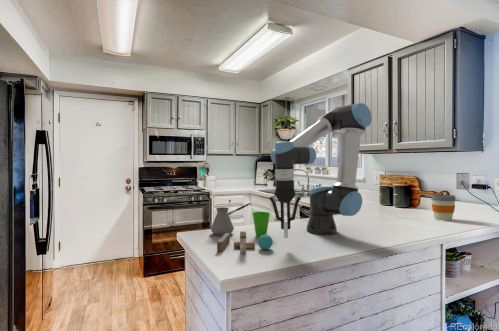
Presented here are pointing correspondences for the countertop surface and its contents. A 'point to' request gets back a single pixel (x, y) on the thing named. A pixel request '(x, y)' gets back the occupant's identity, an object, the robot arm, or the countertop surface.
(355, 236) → the countertop surface
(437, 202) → the reusable coffee cup
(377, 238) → the countertop surface
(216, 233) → the coffee pot
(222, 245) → the bar
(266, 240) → the ball
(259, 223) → the cup
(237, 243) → the front pin
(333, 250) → the countertop surface
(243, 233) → the side pin
